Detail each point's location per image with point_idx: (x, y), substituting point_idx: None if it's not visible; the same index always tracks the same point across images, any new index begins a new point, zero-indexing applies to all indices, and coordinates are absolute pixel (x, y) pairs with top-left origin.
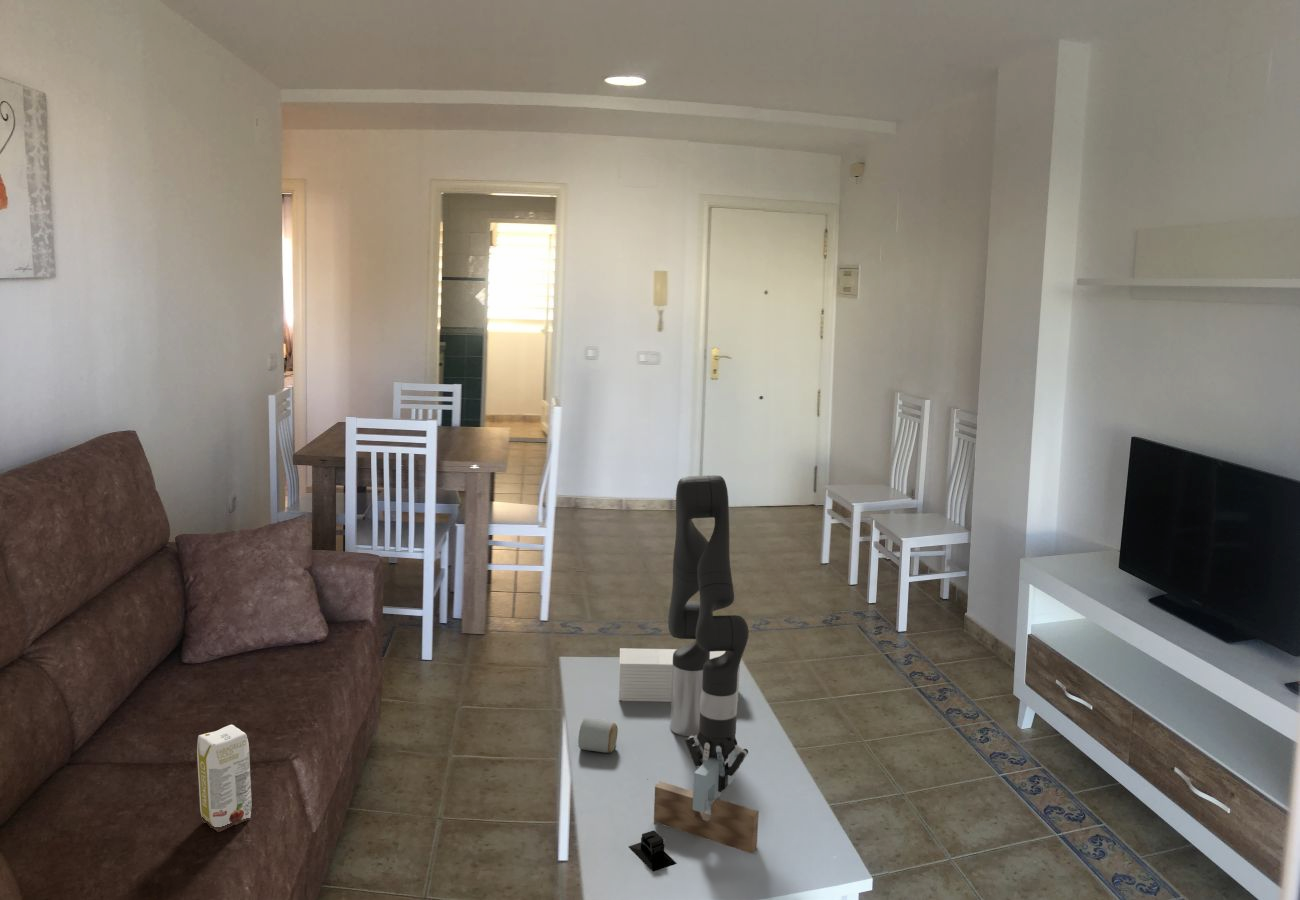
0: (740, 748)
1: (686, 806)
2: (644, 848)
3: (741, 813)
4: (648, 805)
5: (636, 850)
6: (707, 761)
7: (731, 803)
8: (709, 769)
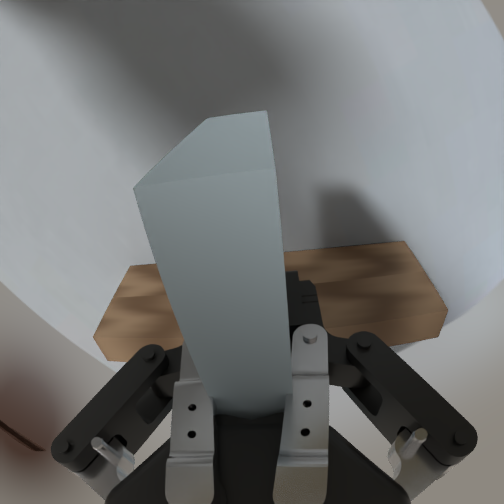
0: (432, 481)
1: None
2: None
3: (401, 342)
4: (81, 242)
5: None
6: None
7: (359, 326)
8: None
